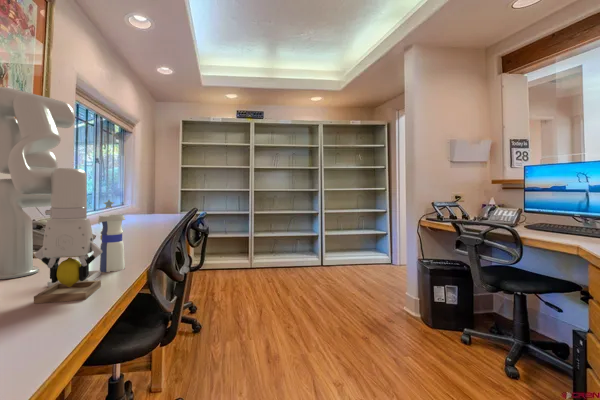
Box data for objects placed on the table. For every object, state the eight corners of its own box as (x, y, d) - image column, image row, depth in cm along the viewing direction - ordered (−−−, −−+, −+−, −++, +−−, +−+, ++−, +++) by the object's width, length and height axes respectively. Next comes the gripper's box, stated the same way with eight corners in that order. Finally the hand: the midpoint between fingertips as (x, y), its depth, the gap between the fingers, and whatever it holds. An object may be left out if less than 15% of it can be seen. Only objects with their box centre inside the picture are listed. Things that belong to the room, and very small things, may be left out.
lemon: (68, 290, 76) (68, 260, 76) (51, 289, 77) (51, 259, 77) (87, 284, 82) (87, 256, 81) (71, 282, 83) (71, 254, 83)
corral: (47, 286, 85) (47, 281, 85) (64, 276, 95) (64, 272, 95) (88, 283, 88) (88, 279, 88) (100, 274, 98) (100, 270, 98)
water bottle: (91, 271, 102) (90, 199, 101) (113, 265, 110) (113, 199, 109) (109, 273, 100) (109, 200, 99) (130, 267, 108) (130, 199, 107)
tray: (33, 303, 73) (33, 296, 73) (56, 289, 83) (56, 283, 83) (85, 299, 76) (85, 292, 76) (100, 286, 86) (100, 280, 86)
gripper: (21, 215, 73) (22, 287, 73) (101, 215, 78) (101, 282, 78) (38, 213, 80) (39, 278, 81) (110, 213, 85) (110, 274, 86)
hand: (69, 279), depth 79 cm, fingers closed on lemon, 5 cm apart
